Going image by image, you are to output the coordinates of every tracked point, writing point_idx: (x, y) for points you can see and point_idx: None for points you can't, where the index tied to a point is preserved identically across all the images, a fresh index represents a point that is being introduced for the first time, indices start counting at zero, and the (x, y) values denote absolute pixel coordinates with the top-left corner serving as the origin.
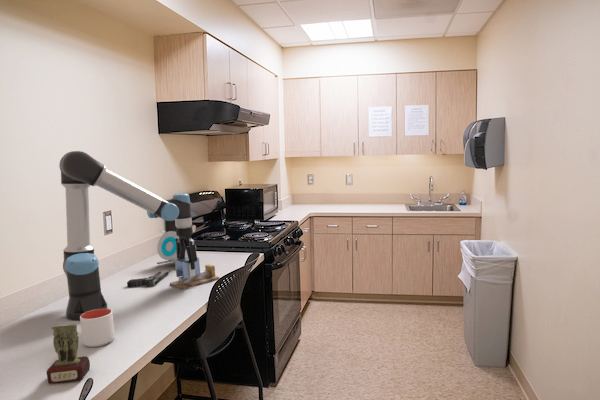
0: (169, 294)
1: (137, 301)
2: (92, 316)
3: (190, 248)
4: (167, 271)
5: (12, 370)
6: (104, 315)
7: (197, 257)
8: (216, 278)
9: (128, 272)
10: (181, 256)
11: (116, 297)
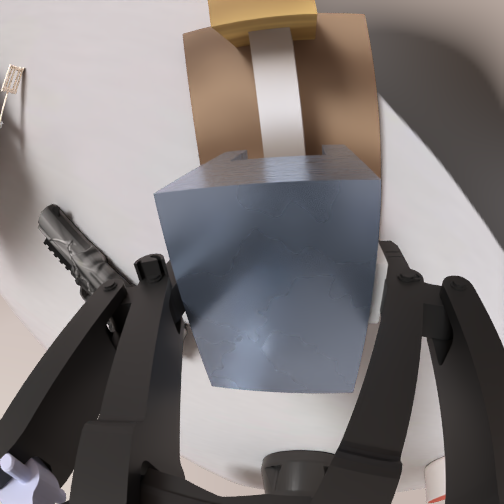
0: (369, 348)
1: (329, 416)
2: (429, 492)
3: (467, 483)
4: (47, 212)
5: (407, 489)
6: (443, 485)
7: (345, 185)
8: (368, 39)
9: (4, 277)
10: (178, 344)
11: (233, 421)
